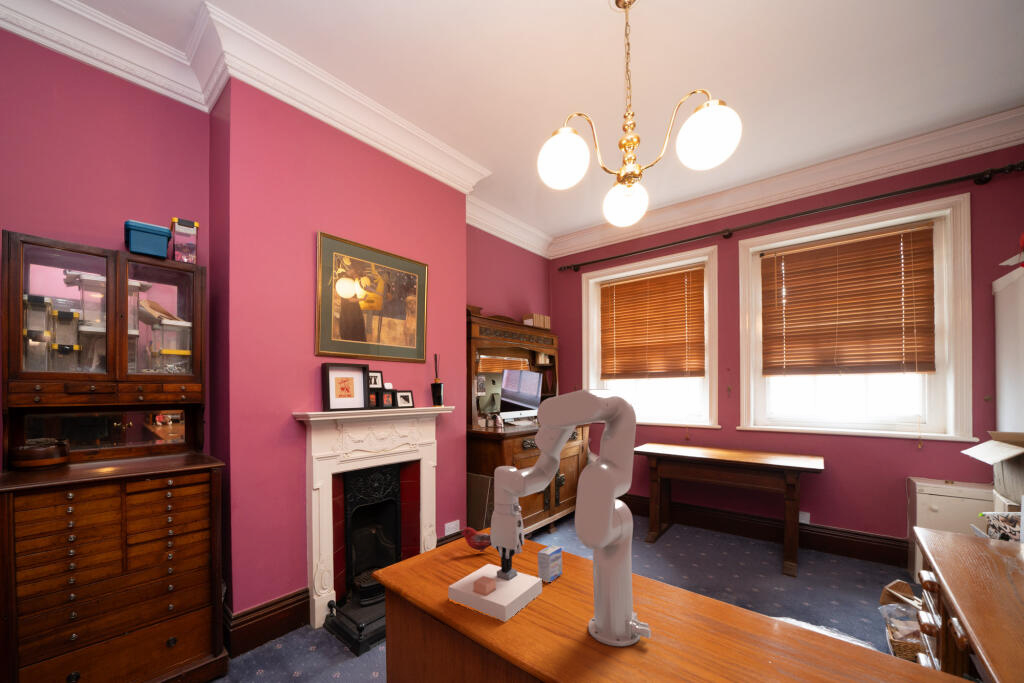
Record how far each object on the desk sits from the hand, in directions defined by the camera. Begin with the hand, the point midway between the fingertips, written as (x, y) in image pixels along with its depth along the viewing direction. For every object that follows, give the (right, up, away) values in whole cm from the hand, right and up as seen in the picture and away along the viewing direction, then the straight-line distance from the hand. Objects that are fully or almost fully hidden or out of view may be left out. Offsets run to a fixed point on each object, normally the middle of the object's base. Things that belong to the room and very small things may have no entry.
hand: (506, 570), depth 126 cm
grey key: (0, -3, 0) cm, 3 cm away
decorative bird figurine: (-9, -9, +27) cm, 30 cm away
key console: (-3, -5, -5) cm, 8 cm away
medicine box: (+14, -7, +7) cm, 17 cm away
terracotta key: (-6, -1, -9) cm, 11 cm away
